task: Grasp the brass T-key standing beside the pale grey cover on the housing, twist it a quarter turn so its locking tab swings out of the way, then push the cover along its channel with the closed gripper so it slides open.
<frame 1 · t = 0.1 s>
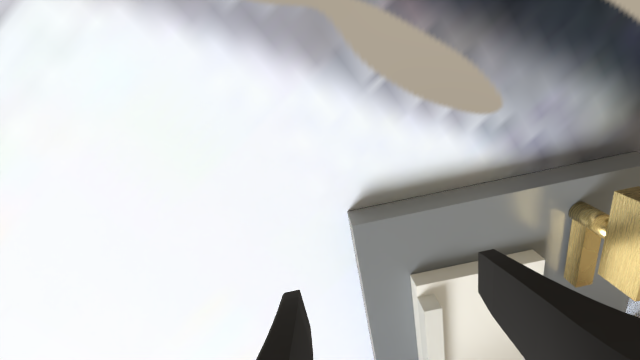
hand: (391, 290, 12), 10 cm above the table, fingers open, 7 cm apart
cover: (480, 325, 23), point 3 cm above the table, slide at 0.0 cm
housing: (488, 274, 26), on the table
key: (610, 247, 19), point 5 cm above the table, hinge at 0.0°
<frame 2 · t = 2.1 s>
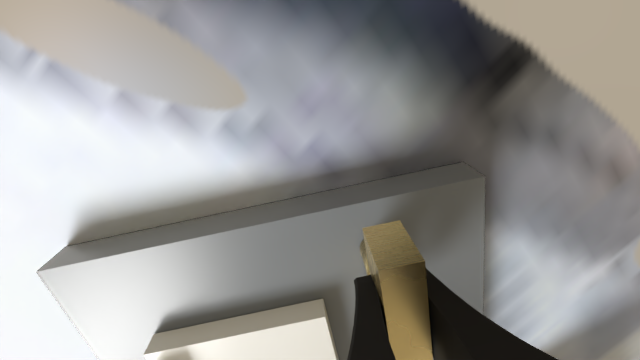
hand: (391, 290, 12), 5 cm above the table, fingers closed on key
housing: (299, 322, 19), on the table
key: (391, 306, 13), point 5 cm above the table, hinge at 0.0°, touching gripper
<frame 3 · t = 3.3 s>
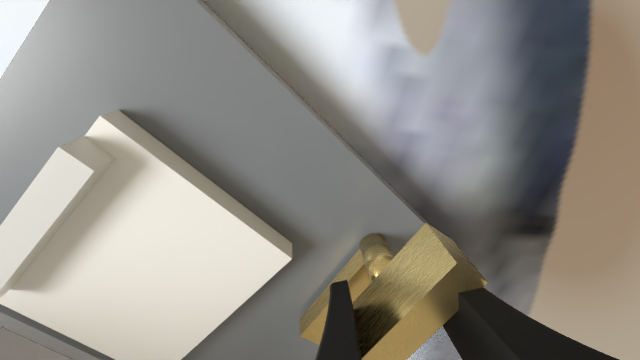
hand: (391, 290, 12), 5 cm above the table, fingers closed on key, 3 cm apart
cover: (134, 274, 13), point 3 cm above the table, slide at 0.0 cm
housing: (220, 241, 17), on the table
key: (368, 302, 13), point 5 cm above the table, hinge at 9.8°, touching gripper
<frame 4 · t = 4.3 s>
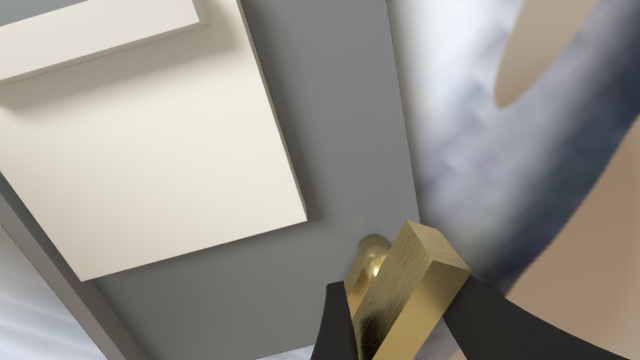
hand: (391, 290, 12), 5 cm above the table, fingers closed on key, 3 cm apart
cover: (141, 153, 11), point 3 cm above the table, slide at 0.0 cm
housing: (225, 171, 15), on the table
key: (374, 304, 13), point 5 cm above the table, hinge at 54.2°, touching gripper
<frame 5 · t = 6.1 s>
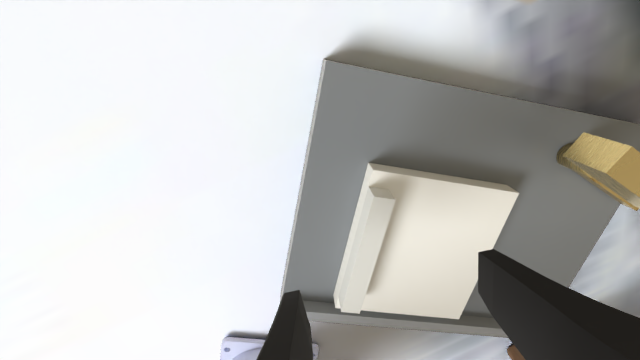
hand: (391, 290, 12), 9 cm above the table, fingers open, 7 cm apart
wooden block: (545, 356, 30), on the table
cover: (421, 254, 19), point 3 cm above the table, slide at 0.0 cm
housing: (443, 213, 22), on the table
key: (621, 180, 17), point 5 cm above the table, hinge at 70.4°
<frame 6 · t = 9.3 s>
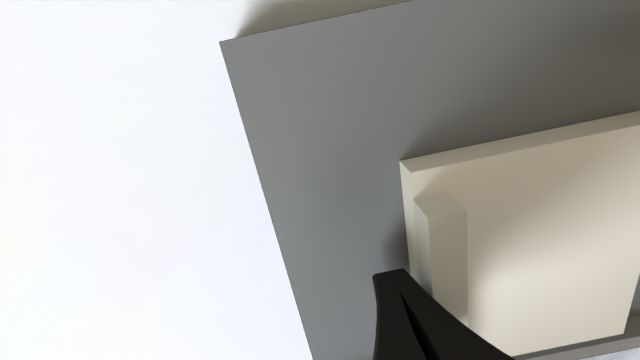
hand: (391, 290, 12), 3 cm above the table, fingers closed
cover: (534, 266, 12), point 3 cm above the table, slide at 1.6 cm, touching gripper
housing: (506, 192, 14), on the table
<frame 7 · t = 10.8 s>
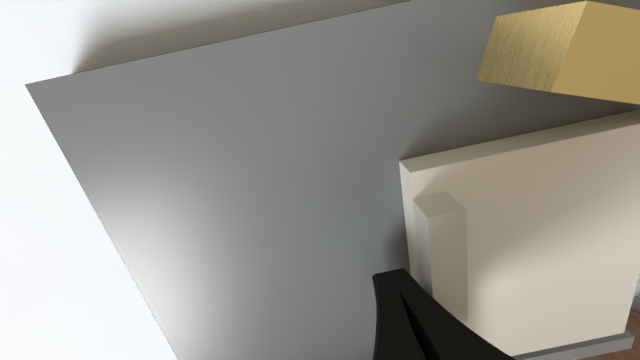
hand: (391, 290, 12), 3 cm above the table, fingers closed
cover: (535, 266, 12), point 3 cm above the table, slide at 7.6 cm, touching gripper
housing: (380, 218, 14), on the table
key: (634, 72, 8), point 5 cm above the table, hinge at 71.2°
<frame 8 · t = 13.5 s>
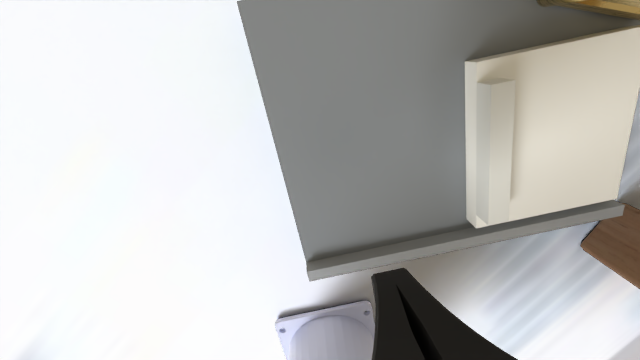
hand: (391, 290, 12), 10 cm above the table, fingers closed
wooden block: (632, 239, 25), on the table
cover: (555, 138, 17), point 3 cm above the table, slide at 7.6 cm
housing: (440, 119, 20), on the table
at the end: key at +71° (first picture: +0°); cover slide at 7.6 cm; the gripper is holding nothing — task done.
